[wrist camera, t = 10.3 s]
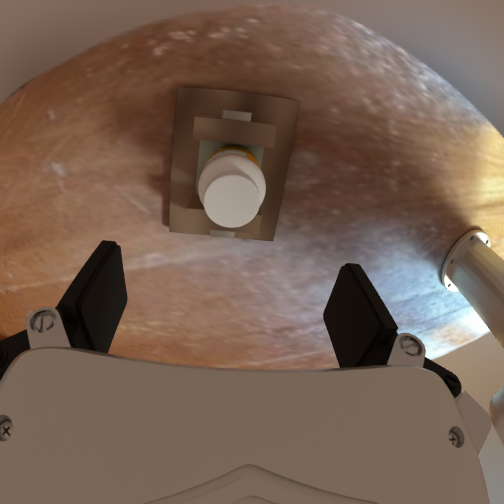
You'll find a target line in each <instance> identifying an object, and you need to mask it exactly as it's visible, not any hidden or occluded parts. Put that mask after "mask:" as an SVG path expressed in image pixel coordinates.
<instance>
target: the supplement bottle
mask: <svg viewBox="0 0 504 504" xmlns="http://www.w3.org/2000/svg"><path fill="white" fill-rule="evenodd" d="M265 192H266V184H265V179H264V176H263V173H262V171H261V168H260V166H259V163H258V161H257V159H256V157H255V156H254V154H253V153H252V152H251V151H250V150H249V149H247V148H245V147H243V146H241V145H236V144H228V145H224V146H221V147H219V148H217V149H216V150H215V151H213V152H212V153H211V155H210V156H209V157H208V159H207V161H206V163H205V166H204V169H203V171H202V173H201V176H200V179H199V184H198V193H199V198H200V201H201V203H202V205H203V206H204V209H205V212H206V213H207V215H208V217H209V218H210V219H211V220H212V221H213V222H215V223H216V224H218V225H220V226H223V227H229V228H234V227H240V226H243V225H245V224H247V223H248V222H250V221H251V220H252V219H253V218H254V217H255V215H256V214H257V212H258V210H259V207H260V205H261V204H262V202H263V200H264V197H265Z"/></svg>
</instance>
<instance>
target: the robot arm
mask: <svg viewBox="0 0 504 504" xmlns="http://www.w3.org/2000/svg"><path fill="white" fill-rule="evenodd" d="M441 278H442V283H443V285H444V286H445V288H446V289H447V290H449V291H451V292H457V291H460V292H461V294H462V295H463V296H464V297H465V298H466V300H467V301H468V302H469V303H470V304H471V306H472V307H473V308H474V310H475V311H476V312H477V313H478V315H479V316H480V317H481V319H482V320H483V321H484V322H485V324H486V325H487V327H488V328H489V329H490V331H491V332H492V333H493V335H494V336H495V338H497V340H498V342H499V343H500V344H501V346H502V347H503V348H504V260H503V259H502V258H501V257H500V256H498V255H497V254H496V253H495V252H494V251H493V250H492V249H491V248H490V239H489V237H488V235H487V234H486V233H485V232H483V231H482V230H479V229H476V230H472V231H470V232H468V233H466V234H465V235H463V236H462V237H461V238H460V239H459V240H458V241H457V242H456V243H455V245H454V246H453V247H452V249H451V250H450V252H449V254H448V256H447V258H446V260H445V262H444V265H443V269H442V276H441ZM126 304H127V291H126V285H125V278H124V271H123V263H122V255H121V248H120V246H119V245H117V243H116V242H115V241H105V240H103V241H102V242H101V243H100V244H99V246H98V247H97V248H96V250H95V251H94V252H93V254H92V255H91V256H90V258H89V259H88V260H87V262H86V263H85V265H84V266H83V267H82V269H81V270H80V272H79V273H78V274H77V276H76V277H75V279H74V280H73V282H72V283H71V285H70V286H69V288H68V289H67V291H66V292H65V294H64V295H63V297H62V299H61V300H60V302H59V303H58V305H57V307H56V308H52V307H42V308H39V309H37V310H35V311H34V312H33V313H31V315H30V316H29V317H28V320H27V324H26V327H27V329H26V330H24V331H22V332H19V333H17V334H15V335H13V336H10V337H8V338H6V339H4V340H1V341H0V504H490V503H489V498H488V493H487V488H486V484H485V480H484V476H483V472H482V468H481V465H480V461H479V458H478V454H479V452H480V450H481V448H482V445H483V444H484V442H485V440H486V437H487V435H488V433H489V431H490V429H491V425H492V424H493V426H494V428H495V430H496V432H497V434H498V436H499V438H500V440H501V442H502V444H503V446H504V385H503V386H502V387H501V388H500V389H499V390H498V391H497V392H496V393H495V394H494V396H493V397H492V399H491V401H490V405H489V414H490V415H489V414H488V413H487V412H486V411H485V410H484V409H483V408H482V407H481V406H480V405H479V404H478V403H477V402H476V401H475V400H474V399H473V398H472V397H471V396H470V395H469V394H468V393H467V392H466V391H464V392H463V393H462V392H461V383H460V381H459V379H458V377H457V376H456V375H455V374H453V373H452V372H450V371H448V370H447V369H445V368H443V367H442V366H440V365H438V364H436V363H434V362H433V361H431V360H429V359H428V358H426V357H425V353H426V350H425V346H424V344H423V343H422V341H421V340H420V339H419V338H417V337H416V336H414V335H412V334H410V333H401V334H399V335H398V333H397V332H396V331H397V329H398V327H397V325H396V323H395V321H394V320H393V318H392V316H391V314H390V313H389V311H388V309H387V308H386V306H385V304H384V303H383V301H382V299H381V298H380V296H379V294H378V293H377V291H376V289H375V288H374V286H373V285H372V283H371V281H370V280H369V278H368V277H367V275H366V274H365V272H364V270H363V269H362V267H361V266H360V265H359V264H353V263H346V264H345V266H342V267H341V269H340V271H339V274H338V277H337V280H336V282H335V285H334V287H333V290H332V293H331V295H330V298H329V300H328V303H327V305H326V308H325V310H324V314H323V319H324V322H325V325H326V328H327V330H328V333H329V336H330V339H331V342H332V345H333V348H334V351H335V354H336V357H337V360H338V363H339V366H340V368H331V369H302V370H264V369H235V368H218V367H205V366H194V365H183V364H174V363H166V362H158V361H151V360H144V359H138V358H131V357H125V356H119V355H113V354H108V351H109V348H110V345H111V343H112V340H113V337H114V334H115V332H116V329H117V327H118V324H119V321H120V319H121V316H122V314H123V311H124V309H125V307H126ZM491 421H492V423H491Z"/></svg>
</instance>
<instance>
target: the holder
mask: <svg viewBox="0 0 504 504" xmlns="http://www.w3.org/2000/svg"><path fill="white" fill-rule="evenodd" d="M299 104H300V101H295V100H290V99H285V98H279V97H273V96H267V95H261V94H254V93H246V92H238V91H229V90H218V89H205V88H185V87H178V94H177V102H176V112H175V122H174V133H173V145H172V160H171V179H170V209H169V232H177V233H188V234H200V235H210V236H215V237H226V238H244V239H254V240H265V241H273V239H274V234H275V229H276V224H277V220H278V215H279V210H280V205H281V200H282V195H283V189H284V184H285V179H286V174H287V169H288V164H289V158H290V153H291V148H292V142H293V137H294V132H295V126H296V121H297V115H298V110H299ZM228 144H236V145H241V146H243V147H245V148H247V149H249V150H250V151H251V152H252V153H253V154H254V156H255V157H256V159H257V161H258V163H259V166H260V168H261V171H262V173H263V176H264V179H265V184H266V192H265V197H264V200H263V202H262V204H261V205H260V207H259V210H258V212H257V214H256V215H255V217H254V218H253V219H252V220H251V221H250V222H248V223H247V224H245V225H243V226H240V227H234V228H229V227H223V226H220V225H218V224H216V223H215V222H213V221H212V220H211V219H210V218H209V217H208V215H207V213H206V212H205V209H204V206H203V205H202V203H201V201H200V198H199V193H198V184H199V179H200V176H201V173H202V171H203V169H204V166H205V163H206V161H207V159H208V157H209V156H210V155H211V153H212V152H213V151H215V150H216V149H217V148H219V147H221V146H224V145H228Z"/></svg>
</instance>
